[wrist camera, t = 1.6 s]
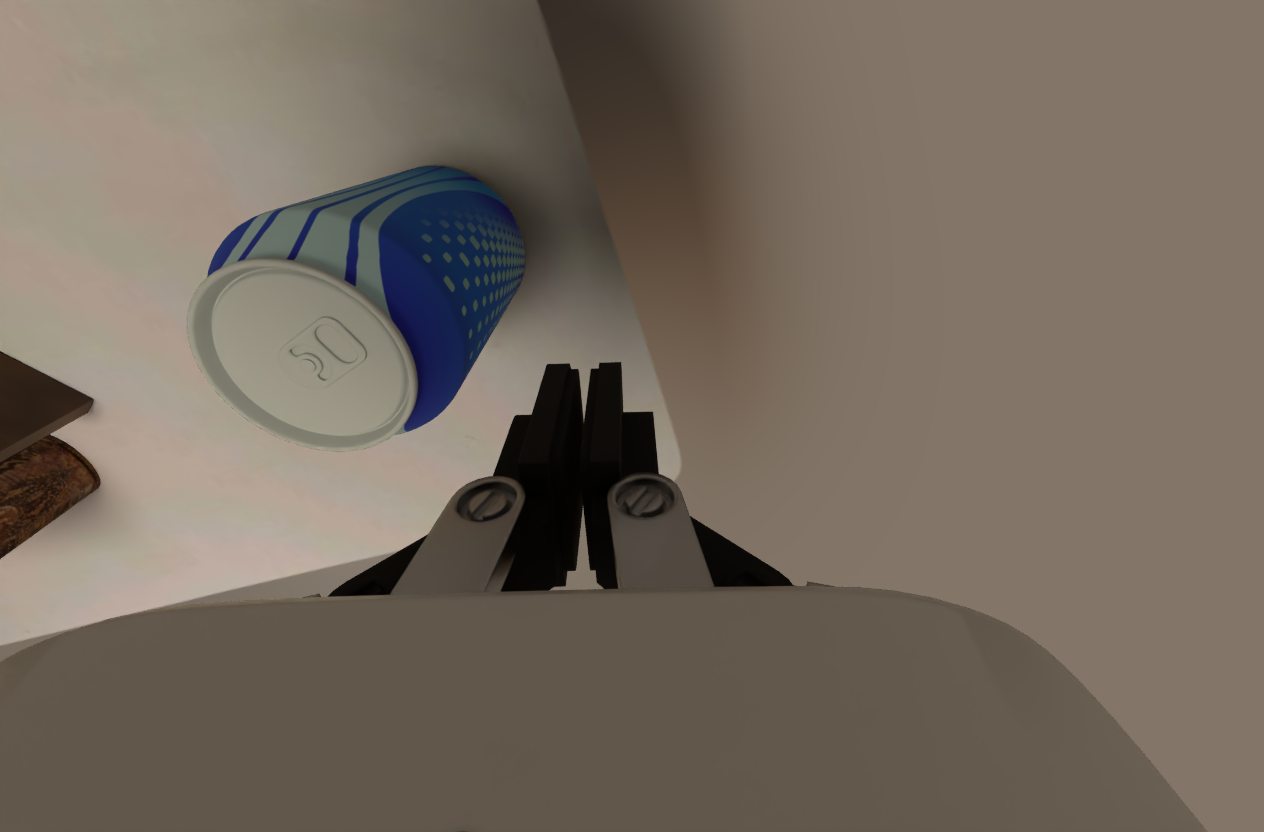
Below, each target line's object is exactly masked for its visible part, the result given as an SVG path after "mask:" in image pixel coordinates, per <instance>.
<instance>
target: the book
mask: <svg viewBox="0 0 1264 832" xmlns="http://www.w3.org/2000/svg"><path fill="white" fill-rule="evenodd" d="M99 485H100V479H99V476H98V474H97V472H96V471H95V469H94V468H93V467H92V466H91V464H90V463H89V462H88V461H87V460H86V459H85V458H84V457H83V456H82V455H81V454H80V453H78V452H77V451H76V450H75V449H73V448H72V447H71V446H69V445H68V444H66V443H64V442H63V441H61V440H59V439H57V438H55V437H53V436H50V435H47V436H46V437H44V438H42V439H40V440H39V441H37V442H35V443H33V444H32V445H30V446H28V447H26V448H25V449H23V450H21V451H19V452H18V453H16V454H14V455H12V456H11V457H9V458H7V459H5V460H4V461H2V462H0V559H1V558H2V557H4V556H5V555H6V554H8V553H9V552H10V551H12V550H13V549H15V548H16V547H17V546H19V545H20V544H22V543H23V542H24V541H26V540H27V539H28V538H30V537H31V536H33V535H34V534H35V533H37V532H38V531H39V530H41V529H42V528H44V527H45V526H46V525H48V524H49V523H50V522H52V521H53V520H55V519H56V518H57V517H59V516H60V515H61V514H63V513H64V512H66V511H67V510H68V509H70V508H71V507H72V506H74V505H75V504H77V503H78V502H79V501H81V500H82V499H83V498H85V497H86V496H88V495H89V494H90V493H92V492H93V491H95V490H96V489H97V488H98V487H99Z"/></svg>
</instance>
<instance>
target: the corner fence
mask: <svg viewBox="0 0 1264 832" xmlns="http://www.w3.org/2000/svg"><path fill="white" fill-rule="evenodd" d="M92 401H93V399H91V398H89V397H87V396H85V395H83V394H81V393H79V392H77V391H75V390H73V389H71V388H69V387H67V386H65V385H64V384H62V383H60V382H58V381H56V380H54V379H52V378H50V377H48V376H46V375H44V374H42V373H40V372H38V371H36V370H34V369H32V368H30V367H28V366H26V365H24V364H22V363H20V362H18V361H16V360H14V359H12V358H11V357H9V356H7V355H5V354H3V353H1V352H0V462H2V461H4V460H5V459H7V458H9V457H11V456H12V455H14V454H16V453H18V452H19V451H21V450H23V449H25V448H26V447H28V446H30V445H32V444H33V443H35V442H37V441H39V440H40V439H42V438H44V437H46V436H47V435H49V434H51V433H53V432H54V431H56V430H58V429H60V428H61V427H63V426H65V425H67V424H68V423H70V422H72V421H74V420H75V419H77V418H79V417H81V416H82V415H84V414H86V413H88V411H89V408H90V406H91V404H92Z"/></svg>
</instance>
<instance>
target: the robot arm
mask: <svg viewBox="0 0 1264 832" xmlns="http://www.w3.org/2000/svg"><path fill="white" fill-rule="evenodd" d="M583 508H584V517H585V525H586V526H585V527H586V536H587V546H588V555H589V565H590V570H596V578H597V583H598V584H599V585H601V586H602V587H603V588H604V589H597V590H596V589H594V590H556V591H555V590H554V591H553V590H552V591H549V590H550V589H551V588H553V587H559V586H560V587H561V586H566V578H567V571H575V570H576V566H577V556H578V546H579V537H580V528H581V518H582V509H583ZM0 832H1207V831H1206V829H1205V828H1204V827H1203V825H1202V824H1201V823H1200V822H1199V821H1198V819H1197V818H1196V817H1195V816H1194V814H1193V813H1192V812H1191V811H1190V810H1189V808H1188V807H1187V806H1186V805H1185V803H1184V802H1183V801H1182V800H1181V799H1180V797H1179V796H1178V795H1177V794H1176V792H1175V791H1174V790H1173V789H1172V787H1171V786H1170V785H1169V784H1168V783H1167V781H1166V780H1165V779H1164V777H1163V776H1162V775H1161V774H1160V773H1159V771H1158V770H1157V769H1156V768H1155V766H1154V765H1153V764H1152V763H1151V761H1150V760H1149V759H1148V758H1147V757H1146V756H1145V754H1144V753H1143V752H1142V751H1141V749H1140V748H1139V747H1138V746H1137V745H1136V744H1135V743H1134V741H1133V740H1132V739H1131V738H1130V737H1129V736H1128V734H1127V733H1126V732H1125V731H1124V730H1123V728H1122V727H1121V726H1120V725H1119V724H1118V723H1117V721H1116V720H1114V718H1113V717H1112V716H1111V715H1110V714H1109V713H1108V711H1107V710H1106V709H1105V708H1104V707H1103V706H1102V705H1101V704H1100V703H1099V702H1098V701H1097V699H1096V698H1095V697H1094V696H1093V695H1092V694H1091V693H1090V692H1089V691H1088V690H1087V689H1086V687H1085V686H1084V685H1083V684H1082V683H1081V682H1080V681H1079V680H1078V679H1077V678H1076V677H1075V676H1074V675H1073V674H1072V673H1071V672H1070V671H1069V670H1068V669H1067V668H1066V667H1065V666H1064V665H1063V664H1062V663H1061V662H1059V661H1058V660H1057V659H1056V658H1055V657H1054V656H1053V655H1051V654H1050V653H1049V652H1048V651H1047V650H1046V649H1045V648H1043V647H1042V646H1041V645H1039V644H1038V643H1037V642H1035V641H1034V640H1033V639H1031V638H1030V637H1028V636H1027V635H1025V634H1024V633H1022V632H1020V631H1019V630H1017V629H1015V628H1014V627H1012V626H1010V625H1008V624H1006V623H1004V622H1002V621H999V620H997V619H995V618H993V617H990V616H988V615H985V614H983V613H980V612H977V611H975V610H972V609H970V608H967V607H963V606H960V605H956V604H953V603H949V602H945V601H942V600H938V599H935V598H931V597H926V596H921V595H914V594H910V593H904V592H899V591H892V590H882V589H871V588H861V587H835V586H829V585H823V584H818V583H812V582H807V585H806V586H794V585H792V583H791V582H790V580H789V579H788V578H786V577H785V576H784V575H783V574H781V573H780V572H779V571H777V570H775V569H774V568H772V567H771V566H769V565H768V564H766V563H765V562H763V561H761V560H760V559H758V558H757V557H755V556H753V555H752V554H750V553H748V552H747V551H745V550H744V549H742V548H740V547H739V546H737V545H736V544H734V543H732V542H731V541H729V540H728V539H726V538H724V537H723V536H721V535H720V534H718V533H716V532H715V531H713V530H711V529H710V528H708V527H707V526H705V525H703V524H702V523H700V522H698V521H697V520H695V519H693V518H692V517H691V516H689V513H688V510H687V507H686V504H685V501H684V498H683V495H682V493H681V491H680V489H679V487H678V486H677V484H676V483H674V482H673V481H672V480H671V479H669V478H667V477H665V476H663V475H660V474H659V472H658V461H657V450H656V439H655V428H654V417H653V412H623V394H622V368H621V362H612V363H599V369H591V373H590V381H589V388H588V396H587V404H586V411H585V419H584V420H583V410H582V399H581V388H580V378H579V370H578V369H571V367H570V364H547V366H546V369H545V372H544V376H543V379H542V382H541V386H540V389H539V392H538V396H537V399H536V402H535V406H534V409H533V412H532V415H516V416H515V417H514V419H513V421H512V424H511V427H510V430H509V432H508V435H507V438H506V441H505V444H504V446H503V449H502V452H501V455H500V458H499V460H498V463H497V466H496V469H495V472H494V474H493V476H489V477H485V478H481V479H477V480H475V481H472V482H470V483H468V484H466V485H465V486H463V487H462V488H461V489H459V490H458V491H457V492H456V493H455V494H454V495H453V497H452V498H451V499H450V501H449V502H448V504H447V506H446V507H445V509H444V510H443V512H442V513H441V515H440V517H439V518H438V520H437V521H436V523H435V524H434V526H433V528H432V529H431V531H430V532H429V534H428V535H426V536H424V537H423V538H421V539H419V540H418V541H416V542H414V543H412V544H411V545H409V546H407V547H405V548H404V549H402V550H400V551H398V552H397V553H395V554H393V555H392V556H390V557H388V558H387V559H385V560H383V561H381V562H380V563H378V564H376V565H375V566H373V567H371V568H369V569H368V570H366V571H364V572H362V573H360V574H359V575H357V576H355V577H354V578H352V579H350V580H348V581H347V582H345V583H344V584H342V585H341V586H339V587H338V588H337V589H335V590H334V591H333V592H332V593H331V594H330V595H329V596H328V597H321V596H320V594H316V595H311V596H307V597H303V598H283V599H261V600H245V601H231V602H215V603H200V604H190V605H181V606H174V607H166V608H159V609H152V610H148V611H143V612H138V613H134V614H129V615H124V616H120V617H115V618H111V619H107V620H104V621H101V622H98V623H94V624H91V625H88V626H85V627H81V628H78V629H75V630H71V631H68V632H65V633H63V634H60V635H57V636H55V637H52V638H50V639H47V640H44V641H42V642H40V643H37V644H35V645H33V646H31V647H28V648H26V649H24V650H21V651H19V652H18V653H16V654H14V655H12V656H10V657H8V658H6V659H5V660H3V661H1V662H0Z"/></svg>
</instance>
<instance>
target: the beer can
mask: <svg viewBox="0 0 1264 832" xmlns="http://www.w3.org/2000/svg"><path fill="white" fill-rule="evenodd" d="M524 266H525V250H524V243H523V239H522V235H521V232H520V229H519V226H518V224H517V222H516V220H515V218H514V216H513V214H512V212H511V211H510V209H509V208H508V206H507V205H506V204H505V202H504V201H503V200H502V199H501V198H500V197H499V196H498V194H497V193H496V192H494V191H493V190H492V189H491V188H490V187H489V186H487V185H486V184H485V183H483V182H482V181H480V180H479V179H477V178H476V177H474V176H472V175H470V174H468V173H465V172H463V171H460V170H457V169H454V168H450V167H444V166H423V167H418V168H414V169H410V170H407V171H403V172H400V173H397V174H393V175H390V176H387V177H383V178H380V179H377V180H373V181H370V182H366V183H363V184H360V185H356V186H353V187H350V188H346V189H343V190H339V191H336V192H333V193H329V194H326V195H323V196H319V197H316V198H312V199H309V200H306V201H302V202H299V203H296V204H292V205H289V206H285V207H282V208H279V209H275V210H272V211H269V212H265V213H263V214H260V215H258V216H255V217H253V218H251V219H250V220H248V221H246V222H245V223H243V224H241V225H240V226H238V227H237V228H236V229H235V230H233V231H232V232H231V233H230V234H229V235H228V236H227V237H226V238H225V239H224V241H223V242H222V244H221V245H220V247H219V248H218V250H217V251H216V253H215V255H214V257H213V259H212V261H211V264H210V267H209V271H208V276H207V278H206V279H205V280H204V281H203V282H202V283H201V284H200V286H199V287H198V289H197V290H196V291H195V293H194V295H193V297H192V299H191V302H190V305H189V309H188V315H187V333H188V339H189V343H190V347H191V350H192V353H193V356H194V358H195V360H196V362H197V364H198V366H199V368H200V370H201V372H202V373H203V375H204V377H205V378H206V379H207V381H208V382H209V384H210V385H211V386H212V387H213V389H214V390H215V391H216V392H217V394H218V395H219V396H220V397H221V398H222V399H223V400H224V401H225V402H226V403H227V404H228V405H229V406H230V407H231V408H233V409H234V410H235V411H236V412H237V413H239V414H240V415H241V416H242V417H244V418H245V419H247V420H248V421H249V422H251V423H252V424H254V425H256V426H257V427H259V428H260V429H262V430H264V431H266V432H268V433H269V434H272V435H274V436H276V437H278V438H280V439H283V440H285V441H288V442H290V443H293V444H296V445H299V446H303V447H307V448H311V449H317V450H323V451H335V452H344V451H356V450H361V449H366V448H369V447H372V446H375V445H377V444H380V443H382V442H384V441H385V440H387V439H389V438H390V437H392V436H393V435H397V434H402V433H405V432H408V431H411V430H413V429H416V428H418V427H420V426H422V425H424V424H426V423H428V422H430V421H431V420H432V419H434V418H435V417H437V416H438V415H439V414H440V413H441V412H442V411H443V410H444V409H445V408H446V407H447V406H448V405H449V404H450V402H451V401H452V400H453V398H454V397H455V395H456V394H457V392H458V390H459V389H460V387H461V385H462V383H463V382H464V380H465V378H466V377H467V375H468V373H469V371H470V370H471V368H472V366H473V365H474V363H475V361H476V359H477V358H478V356H479V354H480V353H481V351H482V349H483V347H484V346H485V344H486V342H487V341H488V339H489V337H490V335H491V334H492V332H493V330H494V329H495V327H496V325H497V323H498V322H499V320H500V318H501V317H502V315H503V313H504V311H505V310H506V308H507V306H508V305H509V303H510V301H511V299H512V298H513V296H514V294H515V293H516V291H517V289H518V287H519V285H520V282H521V280H522V276H523V272H524Z"/></svg>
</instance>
